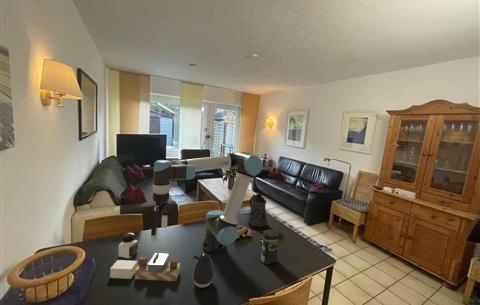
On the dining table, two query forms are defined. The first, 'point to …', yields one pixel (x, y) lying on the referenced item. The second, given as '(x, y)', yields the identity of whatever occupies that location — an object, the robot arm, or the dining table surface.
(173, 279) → the cream wooden plank
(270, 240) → the coffee jar
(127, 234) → the medicine bottle
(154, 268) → the lever cap
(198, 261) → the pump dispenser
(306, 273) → the dining table surface
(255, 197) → the beer stein
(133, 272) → the block
